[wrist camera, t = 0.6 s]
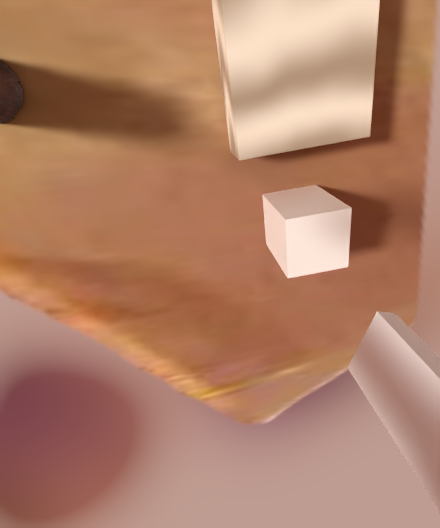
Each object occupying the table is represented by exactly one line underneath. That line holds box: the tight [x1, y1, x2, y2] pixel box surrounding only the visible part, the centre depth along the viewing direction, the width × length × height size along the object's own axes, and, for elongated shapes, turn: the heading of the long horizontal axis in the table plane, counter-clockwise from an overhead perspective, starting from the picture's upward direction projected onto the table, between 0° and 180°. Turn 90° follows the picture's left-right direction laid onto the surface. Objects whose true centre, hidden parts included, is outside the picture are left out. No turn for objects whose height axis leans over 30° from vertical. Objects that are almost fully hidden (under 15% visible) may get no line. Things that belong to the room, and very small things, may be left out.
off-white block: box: [263, 185, 352, 278], centre depth 34 cm, size 6×6×8 cm
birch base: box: [212, 0, 380, 160], centre depth 28 cm, size 12×12×5 cm
